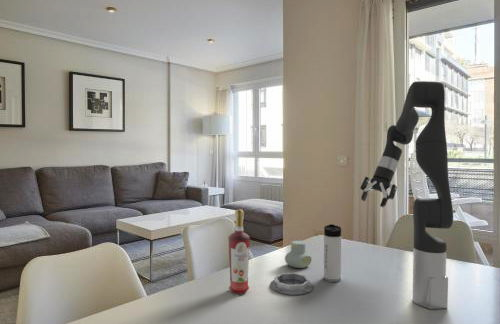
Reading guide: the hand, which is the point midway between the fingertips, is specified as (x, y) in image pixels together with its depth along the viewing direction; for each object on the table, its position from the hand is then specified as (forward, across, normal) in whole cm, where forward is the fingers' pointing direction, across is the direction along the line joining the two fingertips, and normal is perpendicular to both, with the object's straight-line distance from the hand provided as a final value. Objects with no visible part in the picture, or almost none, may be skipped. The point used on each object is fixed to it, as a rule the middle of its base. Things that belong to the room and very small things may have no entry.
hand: (372, 203), depth 146 cm
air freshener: (+37, -14, -13) cm, 41 cm away
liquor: (+50, -11, -45) cm, 68 cm away
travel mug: (+34, +4, -16) cm, 38 cm away
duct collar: (+42, -2, -31) cm, 52 cm away
